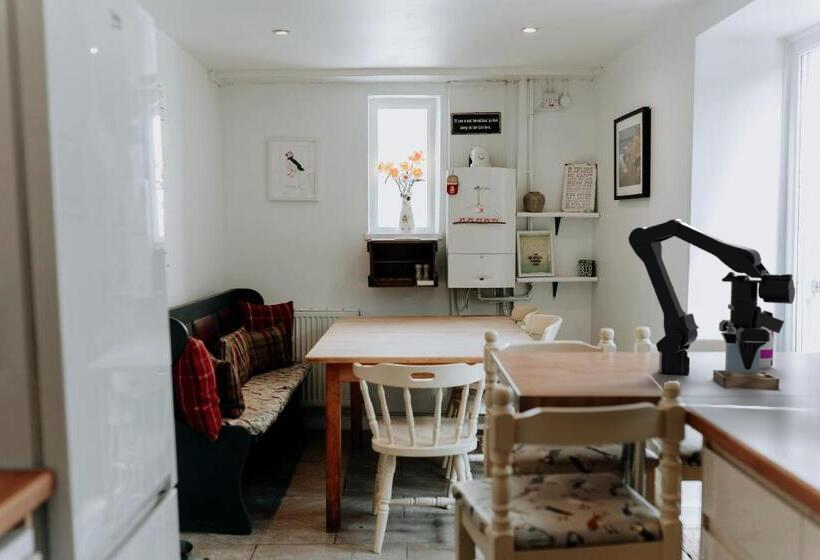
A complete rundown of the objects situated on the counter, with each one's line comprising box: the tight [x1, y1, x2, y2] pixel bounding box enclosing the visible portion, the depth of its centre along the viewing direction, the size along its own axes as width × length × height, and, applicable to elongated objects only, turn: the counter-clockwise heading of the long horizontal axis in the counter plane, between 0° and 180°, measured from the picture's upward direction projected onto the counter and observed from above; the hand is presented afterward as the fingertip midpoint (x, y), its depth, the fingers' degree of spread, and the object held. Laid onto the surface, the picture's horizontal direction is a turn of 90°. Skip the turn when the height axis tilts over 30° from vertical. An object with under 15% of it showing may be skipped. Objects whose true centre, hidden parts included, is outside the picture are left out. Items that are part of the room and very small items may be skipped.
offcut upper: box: [730, 372, 765, 378], centre depth 158 cm, size 6×4×1 cm, turn 80°
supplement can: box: [759, 310, 775, 369], centre depth 183 cm, size 8×8×15 cm
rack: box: [711, 369, 782, 391], centre depth 160 cm, size 12×11×3 cm
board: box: [724, 343, 760, 373], centre depth 162 cm, size 7×2×9 cm, turn 80°
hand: (741, 366), depth 162 cm, fingers open, 8 cm apart
